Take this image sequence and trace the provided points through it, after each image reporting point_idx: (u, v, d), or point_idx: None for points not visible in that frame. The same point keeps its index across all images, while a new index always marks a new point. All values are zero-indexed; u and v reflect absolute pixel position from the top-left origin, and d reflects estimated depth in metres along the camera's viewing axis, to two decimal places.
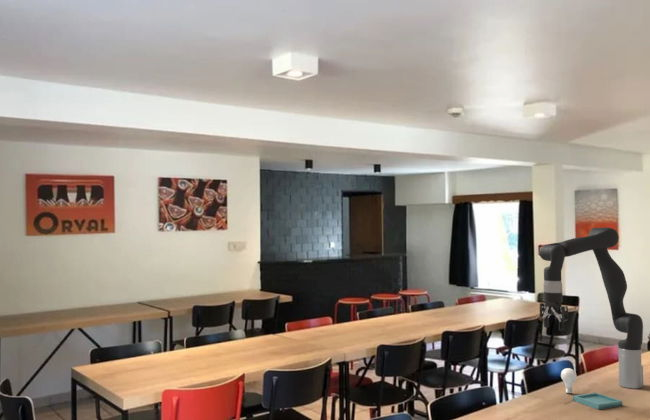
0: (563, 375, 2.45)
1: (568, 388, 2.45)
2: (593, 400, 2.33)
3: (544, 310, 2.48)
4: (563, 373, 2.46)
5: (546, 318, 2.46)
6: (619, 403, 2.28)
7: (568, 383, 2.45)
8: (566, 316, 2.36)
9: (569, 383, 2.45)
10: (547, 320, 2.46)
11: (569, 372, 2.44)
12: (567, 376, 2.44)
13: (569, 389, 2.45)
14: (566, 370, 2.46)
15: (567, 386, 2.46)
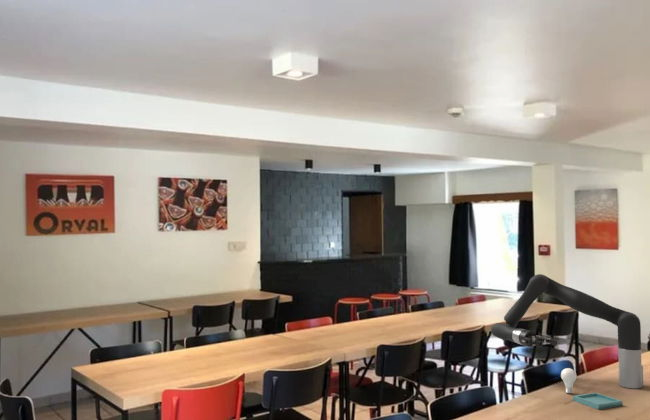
0: (563, 375, 2.45)
1: (568, 388, 2.45)
2: (593, 400, 2.33)
3: (547, 338, 2.66)
4: (563, 373, 2.46)
5: (549, 341, 2.63)
6: (619, 403, 2.28)
7: (568, 383, 2.45)
8: (528, 340, 2.61)
9: (569, 383, 2.45)
10: (550, 341, 2.62)
11: (569, 372, 2.44)
12: (567, 376, 2.44)
13: (569, 389, 2.45)
14: (566, 370, 2.46)
15: (567, 386, 2.46)
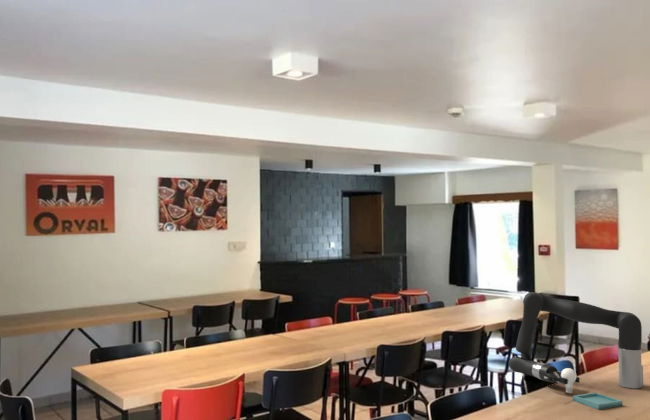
0: (563, 375, 2.45)
1: (568, 388, 2.45)
2: (593, 400, 2.33)
3: None
4: (563, 373, 2.46)
5: None
6: (619, 403, 2.28)
7: (568, 383, 2.45)
8: None
9: (569, 383, 2.45)
10: None
11: (569, 372, 2.44)
12: (567, 376, 2.44)
13: (569, 389, 2.45)
14: (566, 370, 2.46)
15: (567, 386, 2.46)
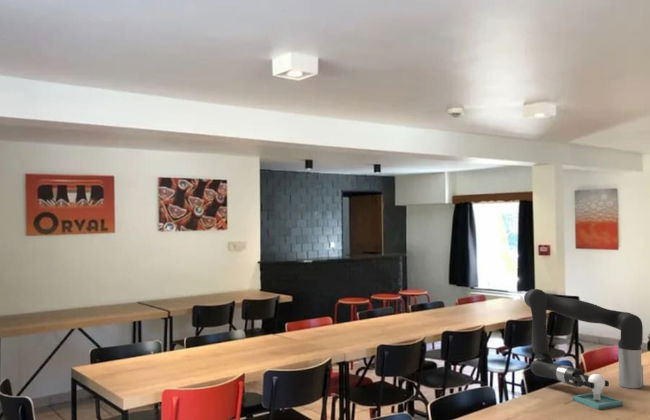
0: (591, 381, 2.32)
1: (596, 395, 2.32)
2: (593, 400, 2.33)
3: None
4: (591, 379, 2.32)
5: None
6: (619, 403, 2.28)
7: (596, 389, 2.31)
8: None
9: (597, 390, 2.31)
10: None
11: (597, 378, 2.31)
12: (595, 382, 2.30)
13: (597, 396, 2.32)
14: (594, 376, 2.32)
15: (595, 393, 2.32)
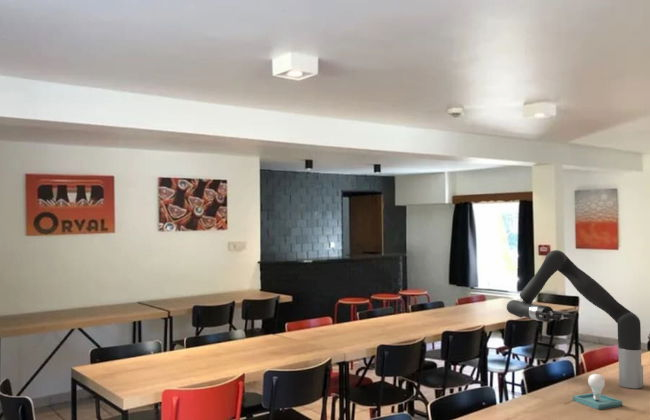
0: (591, 381, 2.32)
1: (596, 395, 2.32)
2: (593, 400, 2.33)
3: (564, 313, 2.63)
4: (591, 379, 2.32)
5: (567, 316, 2.59)
6: (619, 403, 2.28)
7: (596, 389, 2.31)
8: (546, 315, 2.58)
9: (597, 390, 2.31)
10: (568, 316, 2.59)
11: (597, 378, 2.31)
12: (595, 382, 2.30)
13: (597, 396, 2.32)
14: (594, 376, 2.32)
15: (595, 393, 2.32)
